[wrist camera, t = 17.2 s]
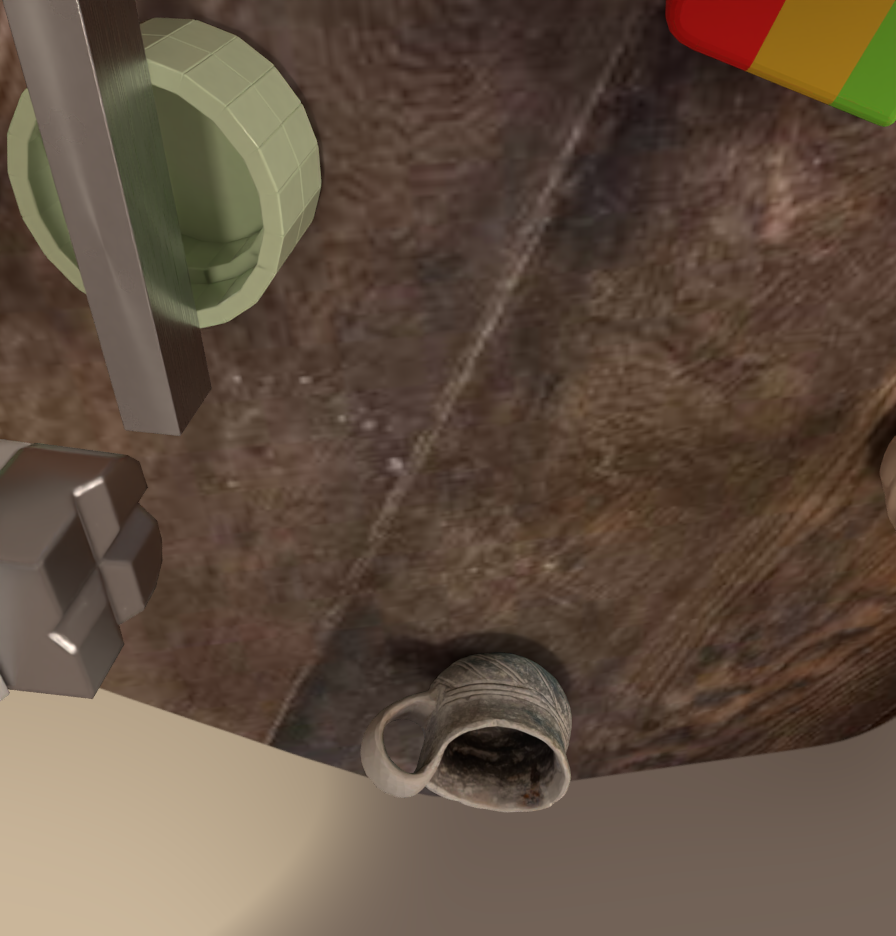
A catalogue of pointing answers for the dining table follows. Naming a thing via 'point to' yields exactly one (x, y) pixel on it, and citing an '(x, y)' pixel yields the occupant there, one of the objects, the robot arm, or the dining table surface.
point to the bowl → (202, 165)
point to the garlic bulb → (889, 479)
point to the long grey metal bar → (116, 200)
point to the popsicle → (802, 46)
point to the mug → (481, 736)
